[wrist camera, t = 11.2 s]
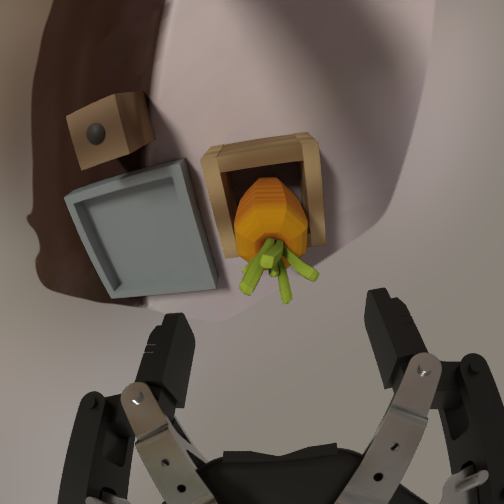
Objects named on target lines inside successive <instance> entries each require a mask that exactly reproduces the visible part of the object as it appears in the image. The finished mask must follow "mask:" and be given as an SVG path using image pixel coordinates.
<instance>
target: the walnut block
mask: <svg viewBox="0 0 504 504" xmlns="http://www.w3.org/2000/svg"><path fill="white" fill-rule="evenodd" d="M66 119H67V123H68V127H69V130H70V134H71V138H72V141H73V145H74V148H75V152H76V155H77V158H78V161H79V164H80V168H81V171H82V170H84V169H87V168H90V167H92V166H95V165H98V164H101V163H103V162H106V161H109V160H112V159H115V158H118V157H121V156H124V155H128V154H130V153H132V152H134V151H135V150H137V149H139V148H141V147H142V146H144V145H146V144H148V143H149V142H151V141H153V140H155V136H154V132H153V128H152V124H151V120H150V116H149V112H148V108H147V103H146V99H145V95H144V91H139V92H127V93H118V94H113V95H110V96H108V97H106V98H103V99H101V100H99V101H97V102H95V103H92V104H90V105H88V106H86V107H84V108H82V109H80V110H78V111H76V112H74V113H72V114H70V115H68V116H66Z"/></svg>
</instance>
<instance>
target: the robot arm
mask: <svg viewBox="0 0 504 504" xmlns="http://www.w3.org/2000/svg"><path fill="white" fill-rule="evenodd" d="M364 320H365V321H364V322H365V327H366V330H367V333H368V336H369V339H370V342H371V345H372V349H373V352H374V355H375V358H376V361H377V365H378V368H379V371H380V374H381V378H382V381H383V385H384V389H387V388H393V391H394V395H393V398H392V400H391V402H390V404H389V406H388V408H387V410H386V412H385V415H384V416H383V419H382V421H381V422H380V424H379V426H378V428H377V430H376V432H375V434H374V435H373V437H372V439H371V440H370V442H369V444H368V446H367V447H366V449H365V451H364V453H363V454H360V453H358V452H355V451H353V450H349V449H343V448H337V443H332V444H326V445H319V446H312V447H307V448H304V449H301V450H298V451H295V452H292V453H289V454H286V455H282V456H274V455H268V454H262V453H257V452H252V451H224V453H223V457H220V458H217V459H214V460H212V461H210V462H208V461H207V460H206V459H205V458H204V457H203V455H202V454H201V453H200V452H199V451H198V449H197V448H196V447H195V446H194V444H193V443H192V441H191V440H190V438H189V437H188V435H187V434H186V432H185V431H184V429H183V428H182V426H181V424H180V423H179V421H178V420H177V418H176V416H175V415H174V414H175V408H184V406H185V400H186V394H187V388H188V383H189V377H190V371H191V366H192V361H193V355H194V350H195V338H194V334H193V332H192V330H191V328H190V326H189V324H188V322H187V319H186V317H185V315H184V314H183V313H169V314H166V315H165V316H164V320H163V322H162V325H160V326H156V327H155V329H154V330H153V331H152V332H151V334H150V336H149V339H148V342H147V346H146V348H145V353H144V354H143V357H142V360H141V364H140V367H139V370H138V373H137V376H136V380H135V382H134V383H132V384H130V385H128V386H127V387H126V388H125V389H124V390H123V392H122V394H118V395H114V396H110V397H104V396H103V395H102V394H101V393H99V392H96V391H93V392H90V393H88V394H86V395H85V396H84V397H83V398H82V400H81V402H80V405H79V408H78V412H77V415H76V419H75V422H74V426H73V430H72V433H71V437H70V441H69V446H68V450H67V454H66V459H65V463H64V468H63V473H62V478H61V484H60V490H59V496H58V504H130V502H129V501H127V494H128V485H129V477H130V469H131V461H132V455H133V448H134V441H135V436H136V438H137V442H136V443H135V446H136V449H137V451H138V453H139V455H140V457H141V459H142V461H143V463H144V465H145V467H146V469H147V471H148V472H149V474H150V476H151V477H152V480H153V481H154V483H155V485H156V487H157V488H158V490H159V492H160V493H161V495H162V497H163V498H164V500H165V501H164V502H163V503H162V504H428V503H427V502H425V501H424V500H422V499H421V498H420V497H418V496H416V495H415V494H414V493H413V492H411V491H410V490H408V489H407V488H406V487H404V486H403V485H402V484H400V482H401V480H402V478H403V476H404V474H405V472H406V470H407V468H408V466H409V464H410V462H411V460H412V458H413V456H414V454H415V452H416V450H417V447H418V445H419V443H420V441H421V438H422V436H423V433H424V431H425V428H426V426H427V423H428V418H427V415H428V412H429V409H438V410H439V414H440V418H441V422H442V426H443V431H444V435H445V439H446V444H447V450H448V455H449V461H450V467H451V473H452V476H450V477H449V478H448V479H447V481H446V482H445V484H444V487H443V494H442V499H441V502H440V503H439V504H504V406H503V403H502V400H501V397H500V394H499V392H498V389H497V386H496V384H495V381H494V378H493V376H492V373H491V371H490V369H489V366H488V364H487V362H486V360H485V359H484V358H483V357H482V356H481V355H478V354H475V353H471V354H468V355H466V356H464V357H463V359H462V360H461V362H445V361H440V360H439V359H438V358H437V357H436V356H434V355H433V354H430V353H429V352H428V351H427V349H426V347H425V344H424V342H423V340H422V338H421V335H420V333H419V331H418V329H417V327H416V325H415V323H414V321H413V319H412V317H411V316H410V313H409V311H408V309H407V306H406V305H405V304H404V303H403V302H402V301H401V300H400V299H399V298H390V296H389V294H388V291H387V290H386V288H379V289H373V290H369V291H368V292H367V298H366V306H365V314H364Z"/></svg>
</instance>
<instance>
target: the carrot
mask: <svg viewBox="0 0 504 504" xmlns="http://www.w3.org/2000/svg"><path fill="white" fill-rule="evenodd" d="M234 231H235V241H236V251H237V254H238V255H239V256H240V257H241V258H243V259H244V260H245V261H247V262H248V264H247V265H246V266H245V268H244V269H243V271H242V273H243V274H244V277H243V279H242V281H241V283H240V286H239V289H240V290H241V291H242V292H243V294H246V295H248V296H250V295H251V294H252V292H253V291H254V289H255V287H256V285H257V284H258V282H259V280H260V277H261V275H262V273H263V271H264V270H269V275H270V276H271V277H276V276H278V281H279V288H280V293H281V298H282V301H283V304H287V303H289V302H290V301H291V300H292V293H291V289H290V284H289V280H288V275H287V271H286V269H287V268H288V267H289V266H290V265H292V267H293V268H294V269H295V270H296V271H297V272H298V273H299V274H300V275H302V276H303V277H304V278H306V279H308V280H310V281H313V282H315V281H316V279H317V278H318V276H319V273H318V271H317V270H315V269H314V268H313V267H311V266H309V265H308V264H306V263H305V262H304V261H302V260H301V259H300V257H301V256H302V255H303V254H305V253H306V249H307V231H308V221H307V218H306V216H305V213H304V211H303V208H302V206H301V204H300V202H299V200H298V198H297V197H296V196H295V195H294V193H293V192H292V191H291V190H290V189H289V188H287V187H286V186H285V185H284V184H283V183H282V182H281V181H280V180H279V179H277V178H276V177H263V178H259V179H258V180H257V181H256V182H255V183H254V184H253V185H252V186H251V187H250V188H249V189H248V190H247V191H246V193H245V194H244V195H243V197H242V198H241V200H240V202H239V205H238V209H237V212H236V217H235V221H234Z"/></svg>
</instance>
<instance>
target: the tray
mask: <svg viewBox="0 0 504 504" xmlns="http://www.w3.org/2000/svg"><path fill="white" fill-rule="evenodd" d="M64 199H65V202H66V204H67V207H68V209H69V212H70V214H71V217H72V219H73V221H74V224H75V226H76V228H77V231H78V233H79V235H80V237H81V240H82V242H83V244H84V246H85V248H86V250H87V252H88V255H89V257H90V259H91V261H92V263H93V265H94V267H95V269H96V271H97V273H98V275H99V276H100V278H101V280H102V282H103V284H104V286H105V288H106V290H107V291H108V293H109V295H110V297H111V298H124V297H136V296H148V295H159V294H170V293H180V292H190V291H200V290H209V289H216V287H217V282H218V273H217V270H216V266H215V263H214V260H213V256H212V253H211V249H210V246H209V242H208V239H207V235H206V232H205V228H204V225H203V221H202V218H201V214H200V210H199V207H198V203H197V199H196V196H195V192H194V188H193V184H192V180H191V177H190V173H189V169H188V165H187V161H186V158H182V159H178V160H173V161H169V162H165V163H161V164H157V165H153V166H150V167H146V168H142V169H139V170H135V171H131V172H128V173H125V174H121V175H118V176H115V177H111V178H108V179H105V180H102V181H99V182H96V183H93V184H90V185H87V186H84V187H81V188H78V189H75V190H73V191H72V192H71V193H69V194H68V195H67V196H65V197H64Z"/></svg>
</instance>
